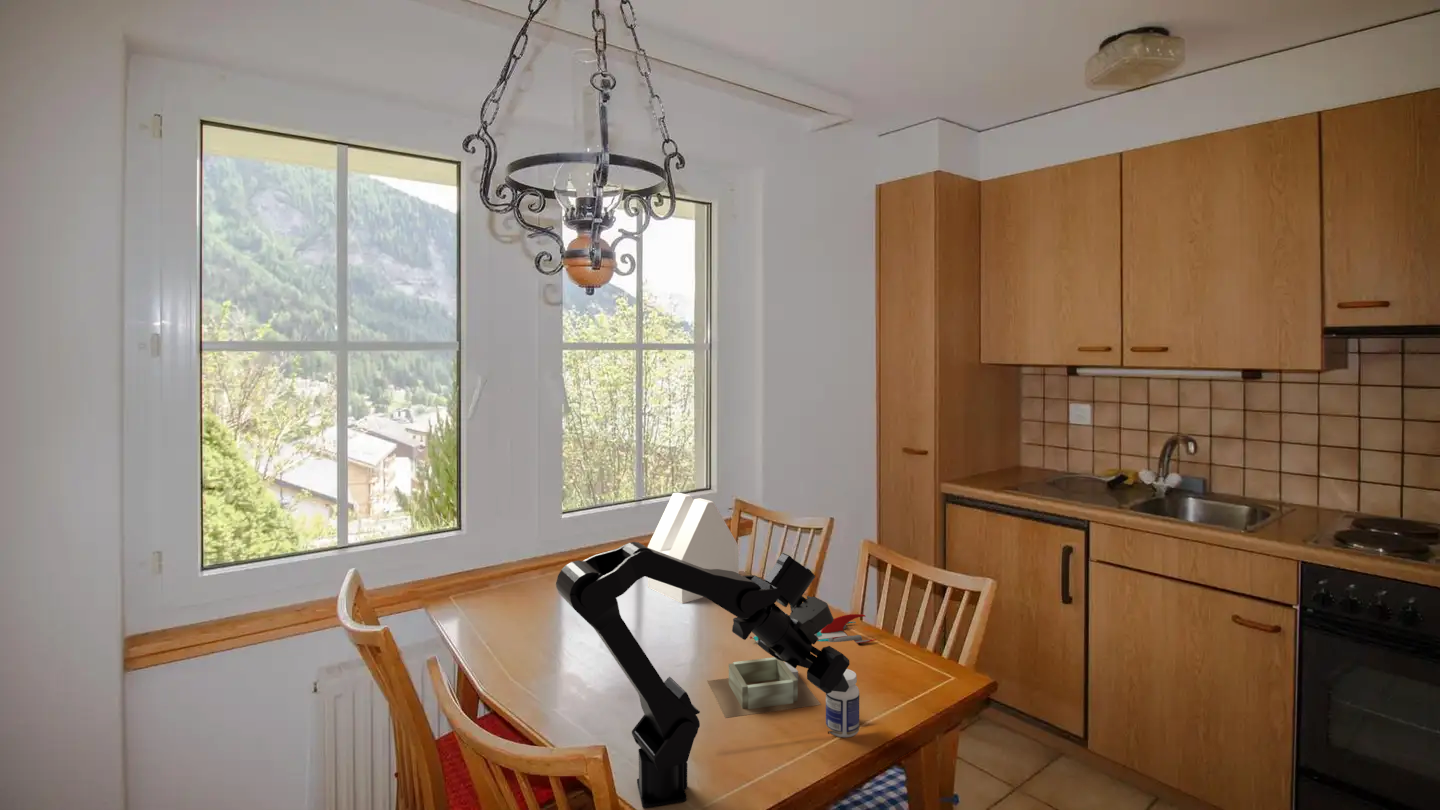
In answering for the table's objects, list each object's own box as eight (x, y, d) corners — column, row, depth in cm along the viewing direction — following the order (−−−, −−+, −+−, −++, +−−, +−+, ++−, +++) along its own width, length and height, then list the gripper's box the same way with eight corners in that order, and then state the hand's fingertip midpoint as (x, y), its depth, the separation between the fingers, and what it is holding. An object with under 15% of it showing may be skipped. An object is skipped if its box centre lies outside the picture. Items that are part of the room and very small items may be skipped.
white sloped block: (682, 604, 181) (681, 507, 178) (648, 588, 192) (646, 497, 190) (738, 587, 193) (738, 496, 191) (703, 573, 205) (702, 488, 203)
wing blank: (783, 683, 136) (783, 673, 136) (776, 673, 140) (776, 663, 140) (798, 681, 137) (798, 671, 137) (790, 671, 141) (790, 661, 141)
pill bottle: (855, 720, 125) (855, 666, 124) (862, 738, 119) (863, 681, 118) (822, 721, 125) (823, 666, 124) (828, 739, 119) (829, 682, 118)
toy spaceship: (763, 670, 148) (762, 647, 148) (744, 648, 159) (742, 626, 158) (877, 642, 157) (876, 620, 156) (851, 623, 168) (850, 602, 167)
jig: (725, 723, 124) (725, 695, 123) (707, 685, 137) (706, 660, 137) (821, 709, 128) (821, 683, 128) (794, 674, 142) (794, 650, 141)
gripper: (840, 605, 107) (894, 658, 114) (772, 571, 123) (822, 619, 130) (797, 667, 104) (855, 718, 111) (733, 623, 120) (787, 670, 127)
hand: (829, 677), depth 119 cm, fingers open, 9 cm apart
